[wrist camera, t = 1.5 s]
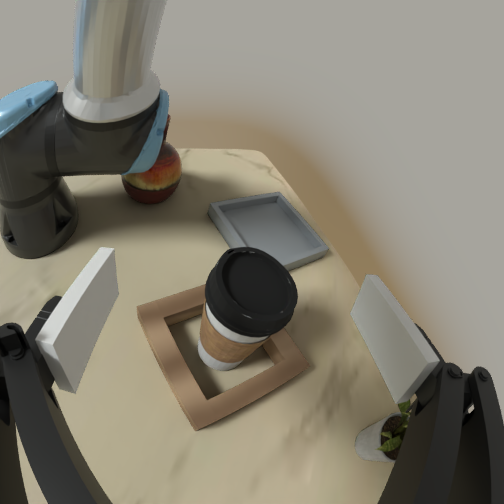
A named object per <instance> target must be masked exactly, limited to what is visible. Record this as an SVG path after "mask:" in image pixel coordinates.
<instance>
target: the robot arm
mask: <svg viewBox="0 0 504 504" xmlns="http://www.w3.org/2000/svg"><path fill="white" fill-rule="evenodd" d="M166 2H167V0H76V1H75V14H74V33H73V63H74V78H73V79H72V80H71V81H70V82H69V83H68V84H67V86H66V88H65V90H64V92H57V91H58V86H57V84H56V82H54V81H41V82H37V83H34V84H31V85H28V86H26V87H23V88H20V89H18V90H16V91H14V92H12V93H10V94H8V95H7V96H5V97H3V98H2V99H0V232H1V236H2V239H3V241H4V243H5V245H6V247H7V249H8V250H9V251H10V252H11V253H12V254H14V255H15V256H18V257H21V258H37V257H41V256H44V255H47V254H49V253H51V252H53V251H54V250H56V249H58V248H59V247H60V246H62V245H63V244H64V243H65V242H66V241H67V240H68V239H69V238H70V236H71V235H72V233H73V232H74V230H75V228H76V225H77V222H78V210H77V204H76V201H75V198H74V196H73V195H72V193H71V191H70V189H69V188H68V186H67V184H66V182H65V181H64V179H63V177H62V176H77V175H117V174H120V175H126V174H129V173H142V172H145V171H147V170H149V169H150V168H151V167H152V166H153V165H154V163H155V161H156V159H157V156H158V154H159V151H160V147H161V144H162V140H163V131H164V129H165V126H166V122H167V116H168V107H169V95H168V93H167V91H165V90H162V89H160V82H159V79H158V77H157V76H156V74H155V73H154V72H153V71H152V70H150V68H151V63H152V58H153V53H154V49H155V44H156V39H157V35H158V31H159V27H160V23H161V19H162V16H163V12H164V8H165V5H166ZM118 295H119V292H118V283H117V274H116V263H115V251H114V248H105V247H100V249H99V250H98V251H97V252H96V254H95V255H94V256H93V257H92V259H91V260H90V261H89V262H88V264H87V265H86V266H85V267H84V269H83V270H82V271H81V273H80V274H79V275H78V277H77V278H76V279H75V281H74V282H73V283H72V285H71V286H70V288H69V289H68V290H67V292H66V293H65V295H64V296H63V297H60V296H55V297H53V298H52V299H50V300H49V301H48V302H47V303H46V304H45V305H44V307H43V308H42V311H40V312H39V314H38V315H37V318H35V320H34V321H33V323H32V324H31V326H30V327H29V329H28V330H27V332H26V333H25V334H24V332H23V330H22V327H21V326H20V325H18V324H16V323H6V324H4V325H2V326H0V504H28V500H27V496H26V492H25V488H24V483H23V478H22V473H21V467H20V461H19V454H18V446H17V437H16V426H17V429H18V432H19V436H20V439H21V442H22V445H23V447H24V450H25V453H26V456H27V458H28V461H29V463H30V466H31V468H32V471H33V473H34V475H35V478H36V480H37V482H38V484H39V486H40V488H41V491H42V493H43V495H44V497H45V499H46V500H47V502H48V504H112V502H111V501H110V500H109V498H108V497H107V495H106V494H105V492H104V491H103V489H102V488H101V486H100V485H99V483H98V481H97V480H96V478H95V476H94V475H93V473H92V471H91V470H90V468H89V466H88V465H87V463H86V461H85V459H84V457H83V456H82V454H81V452H80V450H79V448H78V446H77V444H76V442H75V440H74V438H73V436H72V434H71V432H70V430H69V427H68V425H67V423H66V421H65V418H64V416H63V414H62V411H61V409H60V406H59V404H58V401H57V399H56V396H55V394H54V391H53V389H52V388H51V387H52V385H53V383H54V380H55V382H56V384H57V385H58V387H59V389H62V390H65V391H68V392H71V393H75V394H76V391H77V388H78V386H79V383H80V380H81V378H82V375H83V373H84V370H85V368H86V365H87V363H88V360H89V358H90V356H91V353H92V351H93V348H94V346H95V344H96V342H97V339H98V337H99V335H100V333H101V330H102V328H103V326H104V324H105V322H106V320H107V317H108V315H109V313H110V311H111V309H112V307H113V305H114V303H115V301H116V299H117V297H118ZM350 315H351V316H352V318H353V320H354V322H355V324H356V326H357V328H358V330H359V331H360V333H361V335H362V337H363V339H364V341H365V343H366V345H367V347H368V349H369V351H370V353H371V355H372V357H373V359H374V361H375V363H376V365H377V367H378V369H379V371H380V373H381V375H382V377H383V379H384V381H385V383H386V385H387V387H388V389H389V391H390V394H391V396H392V398H393V400H394V402H395V404H398V403H402V402H407V401H408V400H409V399H410V398H411V397H412V396H413V395H414V393H415V394H416V396H417V399H416V400H415V401H414V402H413V403H412V404H411V405H410V407H409V408H408V409H407V410H406V412H405V413H408V412H409V411H410V410H411V409H412V411H411V413H410V418H409V422H408V425H407V429H406V432H405V435H404V438H403V441H402V444H401V447H400V450H399V453H398V456H397V459H396V461H395V464H394V467H393V469H392V472H391V474H390V477H389V479H388V482H387V484H386V486H385V489H384V491H383V493H382V495H381V497H380V500H379V502H378V504H504V424H503V419H502V415H501V410H500V406H499V402H498V399H497V394H496V391H495V387H494V384H493V380H492V377H491V375H490V373H489V372H488V371H487V370H486V369H485V368H483V367H476V368H475V369H474V370H473V371H472V373H471V374H467V373H463V372H462V370H461V369H460V368H459V367H458V366H457V365H455V364H453V363H445V362H444V360H443V358H442V357H441V355H440V354H439V352H438V351H437V349H436V348H435V346H434V345H433V344H432V343H431V341H430V339H429V338H428V337H427V335H426V334H425V332H424V331H423V330H422V329H421V328H420V327H419V326H418V325H417V324H415V323H413V321H412V320H411V318H410V317H409V316H408V314H407V313H406V312H405V310H404V309H403V307H402V306H401V305H400V303H399V302H398V301H397V300H396V298H395V297H394V296H393V294H392V293H391V292H390V290H389V289H388V288H387V287H386V285H385V284H384V283H383V282H382V280H381V279H380V278H379V276H378V275H369V274H367V275H366V276H365V279H364V282H363V284H362V287H361V289H360V291H359V294H358V296H357V299H356V301H355V304H354V306H353V308H352V310H351V313H350ZM473 404H474V410H473V411H472V412H471V413H468V409H469V408H470V407H471V406H472V405H473ZM15 422H16V424H15Z"/></svg>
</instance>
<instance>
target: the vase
mask: <svg viewBox="0 0 504 504" xmlns="http://www.w3.org/2000/svg"><path fill="white" fill-rule="evenodd" d="M169 122H170V115H169V114H168V116H167V122H166V126H165V129H164V131H163V140H162V144H161V147H160V151H159V154H158V156H157V159H156V161H155V163H154V165H153V166H152V167H151V168H150V169H149V170H147V171H145V172H142V173H129V174H126V175H121V176H122V182H123V185H124V188H125V190H126V192H127V193H128V194H129V195H130V196H131V197H132V198H133V199H134V200H136V201H138V202H141V203H146V204H154V203H159V202H162V201H164V200H166V199H167V198H168V197H170V196H171V195H172V194H173V192H174V191H175V190H176V188H177V186H178V184H179V181H180V178H181V173H182V164H181V159H180V156H179V154H178V152H177V151H176V150H175V148H174V147H173V146H172V145H170V144H169V143H167V142H166V135H167V130H168V126H169Z"/></svg>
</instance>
